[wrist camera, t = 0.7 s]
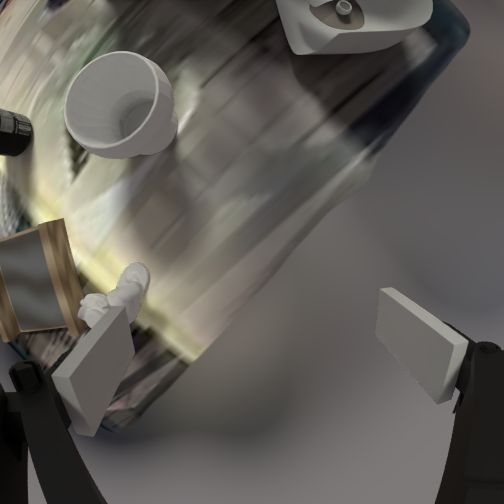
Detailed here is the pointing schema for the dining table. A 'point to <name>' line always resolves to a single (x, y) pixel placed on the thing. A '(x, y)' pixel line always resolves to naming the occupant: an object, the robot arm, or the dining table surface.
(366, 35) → the bowl
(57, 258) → the wooden tray
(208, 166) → the dining table surface
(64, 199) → the dining table surface
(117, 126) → the cup
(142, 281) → the figurine
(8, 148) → the beverage can
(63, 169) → the dining table surface
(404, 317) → the robot arm
